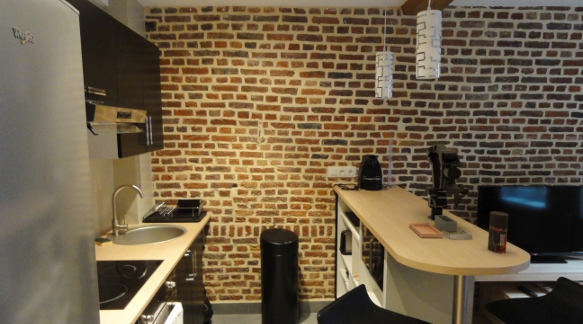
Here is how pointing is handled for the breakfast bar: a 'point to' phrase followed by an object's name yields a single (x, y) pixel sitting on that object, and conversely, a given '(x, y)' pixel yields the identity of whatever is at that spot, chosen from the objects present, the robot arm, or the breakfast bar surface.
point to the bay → (457, 235)
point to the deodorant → (498, 232)
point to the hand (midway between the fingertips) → (445, 208)
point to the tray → (425, 230)
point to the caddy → (445, 223)
